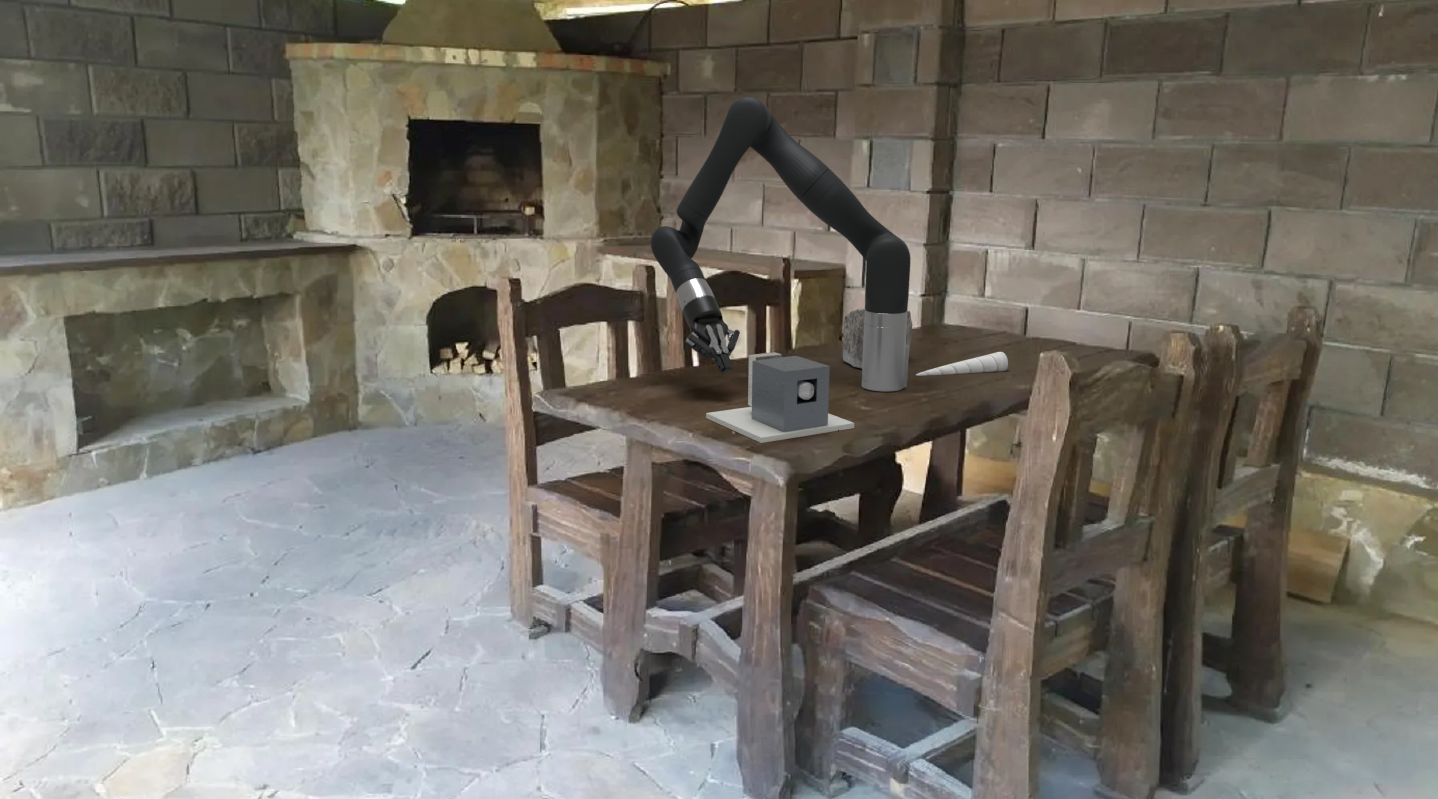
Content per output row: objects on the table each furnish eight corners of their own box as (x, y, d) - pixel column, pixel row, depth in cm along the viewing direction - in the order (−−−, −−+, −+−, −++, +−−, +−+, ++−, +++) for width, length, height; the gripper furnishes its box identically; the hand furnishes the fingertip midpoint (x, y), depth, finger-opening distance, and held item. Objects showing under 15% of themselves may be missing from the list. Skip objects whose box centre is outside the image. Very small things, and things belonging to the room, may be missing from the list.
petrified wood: (887, 354, 267) (890, 296, 263) (931, 366, 252) (934, 305, 248) (827, 360, 258) (829, 301, 254) (868, 374, 243) (871, 311, 240)
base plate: (794, 405, 213) (794, 400, 213) (854, 428, 196) (854, 423, 196) (705, 418, 203) (705, 413, 202) (761, 443, 186) (761, 437, 186)
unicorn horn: (908, 374, 245) (909, 354, 244) (998, 369, 251) (999, 350, 250) (917, 378, 241) (918, 357, 240) (1008, 373, 247) (1009, 353, 246)
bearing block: (794, 412, 203) (795, 355, 201) (827, 425, 194) (829, 366, 191) (751, 418, 198) (752, 360, 196) (783, 432, 189) (785, 371, 186)
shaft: (773, 401, 206) (774, 352, 203) (819, 419, 193) (821, 366, 190) (748, 405, 203) (748, 355, 200) (792, 423, 190) (794, 370, 187)
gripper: (677, 296, 215) (706, 364, 208) (731, 292, 221) (761, 358, 214) (665, 317, 221) (693, 385, 213) (718, 313, 227) (747, 378, 220)
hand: (727, 371), depth 214 cm, fingers closed
